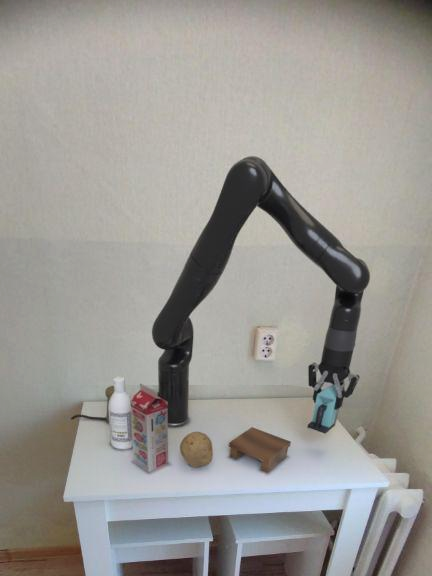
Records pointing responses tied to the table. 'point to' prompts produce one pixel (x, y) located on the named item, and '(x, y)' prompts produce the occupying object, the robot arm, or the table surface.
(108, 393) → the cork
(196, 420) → the table surface
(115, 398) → the bath foam
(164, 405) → the milk carton
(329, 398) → the iron
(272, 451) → the stand
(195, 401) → the table surface
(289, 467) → the table surface
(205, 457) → the natural sponge
